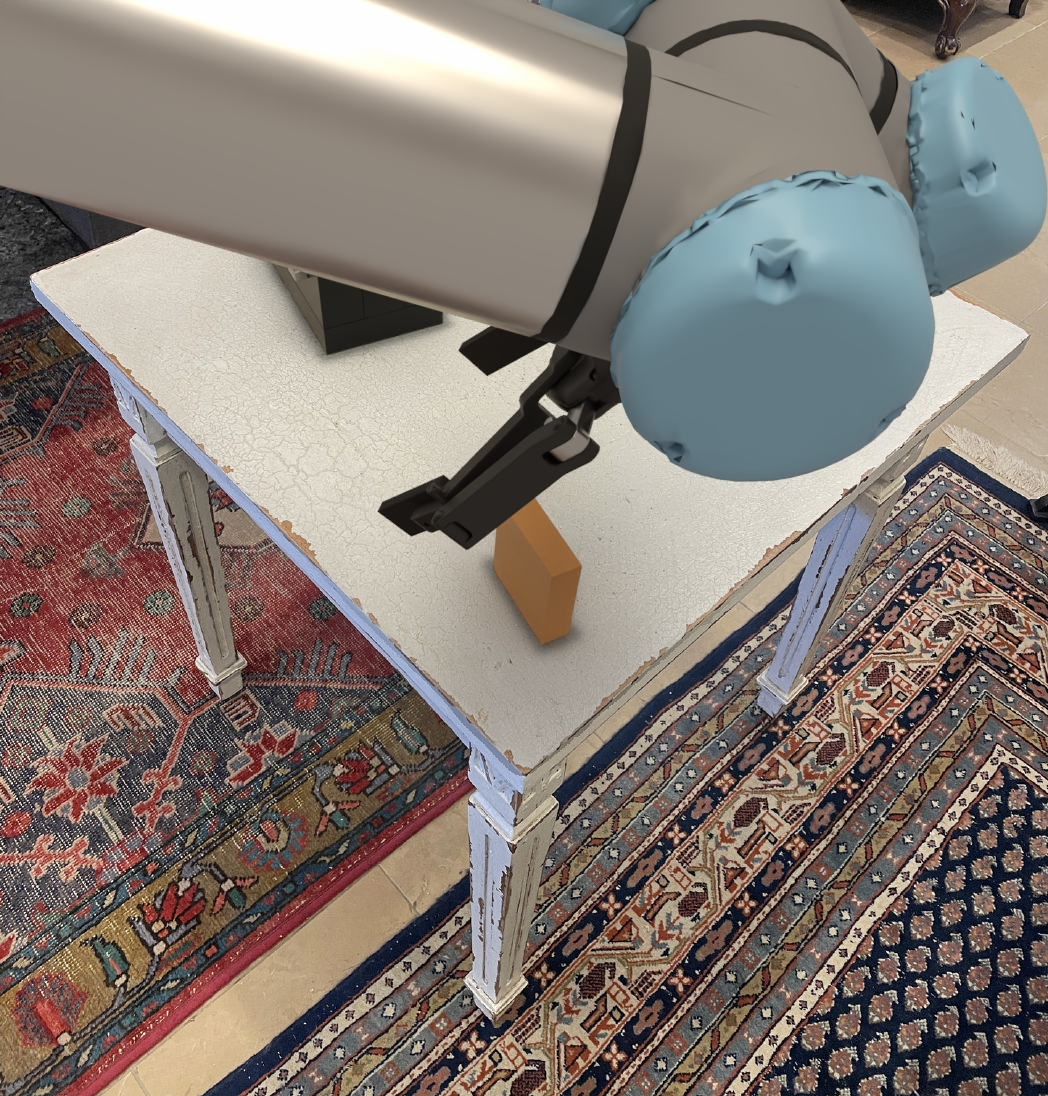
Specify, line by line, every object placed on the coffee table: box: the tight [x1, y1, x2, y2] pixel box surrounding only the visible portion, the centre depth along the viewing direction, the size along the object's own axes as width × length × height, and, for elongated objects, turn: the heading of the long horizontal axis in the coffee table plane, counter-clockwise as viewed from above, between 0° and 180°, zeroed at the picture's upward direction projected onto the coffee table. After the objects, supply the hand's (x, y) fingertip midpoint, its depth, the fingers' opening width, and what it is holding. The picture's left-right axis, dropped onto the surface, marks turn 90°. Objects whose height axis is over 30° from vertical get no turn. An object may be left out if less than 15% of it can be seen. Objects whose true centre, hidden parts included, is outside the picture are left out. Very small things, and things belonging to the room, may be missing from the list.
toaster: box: [271, 263, 444, 356], centre depth 93 cm, size 13×18×10 cm
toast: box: [492, 497, 583, 646], centre depth 71 cm, size 2×8×8 cm, turn 28°
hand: (437, 435), depth 62 cm, fingers open, 13 cm apart
